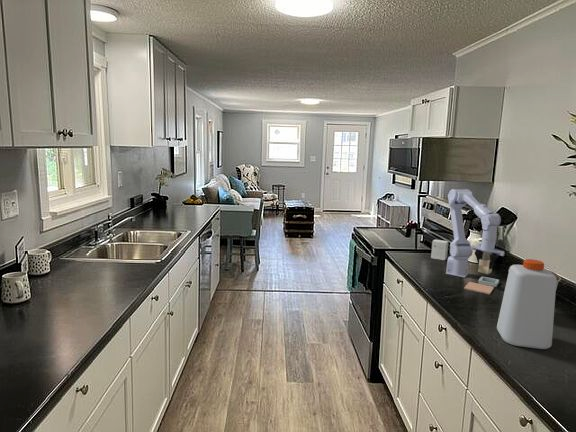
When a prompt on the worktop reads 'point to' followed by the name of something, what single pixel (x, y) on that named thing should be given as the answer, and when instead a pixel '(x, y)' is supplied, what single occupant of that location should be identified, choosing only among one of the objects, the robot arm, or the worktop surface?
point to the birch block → (484, 266)
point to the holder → (488, 282)
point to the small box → (439, 249)
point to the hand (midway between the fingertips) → (485, 267)
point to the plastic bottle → (528, 306)
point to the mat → (479, 288)
